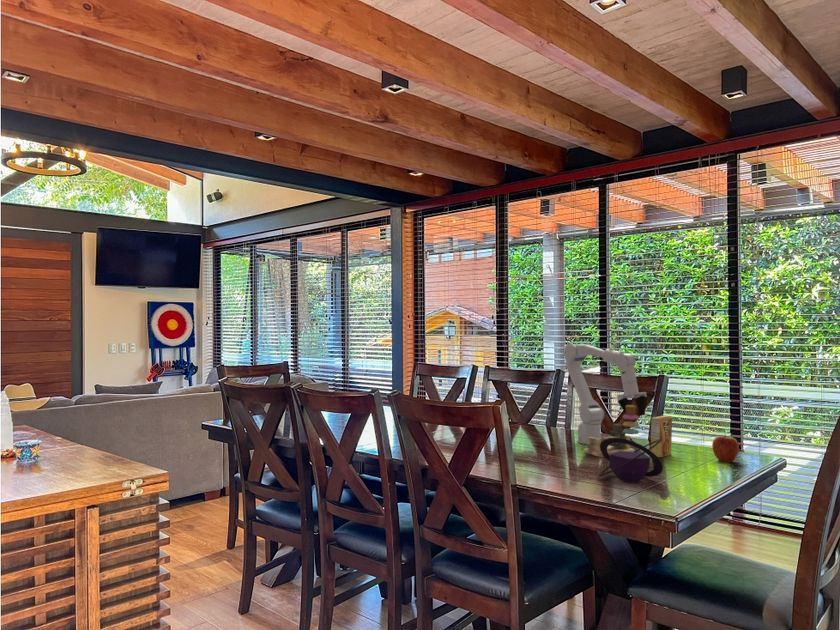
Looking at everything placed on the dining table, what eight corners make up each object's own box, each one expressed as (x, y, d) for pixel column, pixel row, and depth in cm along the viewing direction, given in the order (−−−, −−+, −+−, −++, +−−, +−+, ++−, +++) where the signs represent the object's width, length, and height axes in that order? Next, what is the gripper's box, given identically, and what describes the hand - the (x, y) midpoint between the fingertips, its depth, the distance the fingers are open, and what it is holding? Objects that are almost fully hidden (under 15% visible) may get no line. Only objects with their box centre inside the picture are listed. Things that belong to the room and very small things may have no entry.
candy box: (662, 453, 251) (662, 415, 251) (672, 455, 248) (672, 416, 248) (650, 456, 246) (650, 417, 246) (660, 458, 242) (660, 418, 243)
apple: (711, 462, 236) (711, 435, 236) (712, 457, 244) (712, 432, 244) (738, 465, 232) (738, 438, 232) (738, 460, 240) (738, 434, 240)
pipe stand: (583, 452, 251) (583, 436, 251) (616, 448, 260) (616, 432, 260) (601, 457, 242) (601, 440, 243) (634, 453, 251) (634, 436, 251)
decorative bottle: (677, 481, 206) (677, 406, 206) (647, 493, 191) (648, 412, 192) (614, 469, 222) (615, 399, 222) (583, 480, 207) (583, 404, 208)
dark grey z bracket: (610, 445, 256) (610, 423, 256) (613, 445, 256) (613, 423, 257) (621, 448, 250) (621, 425, 250) (624, 447, 251) (624, 425, 251)
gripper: (624, 382, 248) (630, 416, 245) (649, 380, 255) (656, 413, 252) (611, 384, 254) (617, 418, 252) (636, 382, 261) (642, 414, 258)
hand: (635, 416), depth 252 cm, fingers open, 7 cm apart
